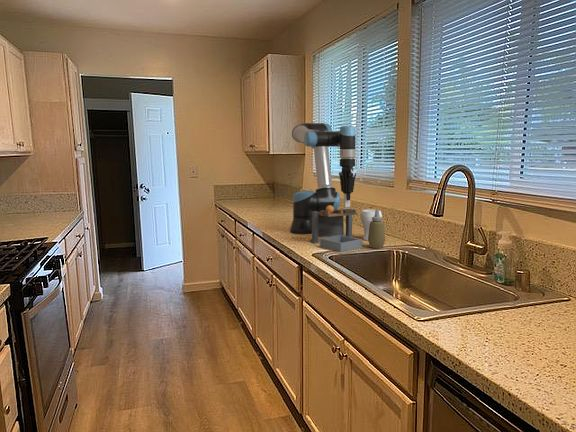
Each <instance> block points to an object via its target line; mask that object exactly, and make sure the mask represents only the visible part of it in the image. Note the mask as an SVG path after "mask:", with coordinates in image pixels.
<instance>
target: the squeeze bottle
mask: <svg viewBox="0 0 576 432" xmlns="http://www.w3.org/2000/svg"><path fill="white" fill-rule="evenodd" d="M375 210H376V211H375V216H374V217H372V222H370V226H369V234H368V245H369V248H372V249H382V248H384V245H385V242H386V234H385V233H386V232H385V223H384V221H383V216H382V217H380V215H379V209H378V208H377V209H375Z"/></svg>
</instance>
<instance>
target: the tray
mask: <svg viewBox="0 0 576 432" xmlns="http://www.w3.org/2000/svg"><path fill="white" fill-rule="evenodd" d="M353 237H354V236H352V237H348V236H346V235H338V236H327V237H320V238H319V247H320V248H323V249H327V250H330V251H334V250H335V252H338V251H340V252H339V253H343V251H344V252H348V250H349V251H353V249H354V250H358V248H359V249H362V248H363V239H361V238H357V237H355V238H353Z"/></svg>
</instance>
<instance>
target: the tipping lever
mask: <svg viewBox="0 0 576 432" xmlns="http://www.w3.org/2000/svg"><path fill="white" fill-rule="evenodd" d="M346 215H352V216H357V215H358V212H356V209H352V208H351V209H350V208H346V209H345V208H342V209H341V208H340V209H338V210H334V211H333V212H332V213H330V211H326V210H322V211H320V212H318V238H327V237H333V236H339V235H343V236H345V235H344V234H345V233H344V225H345V224H344V216H345V217H346Z"/></svg>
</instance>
